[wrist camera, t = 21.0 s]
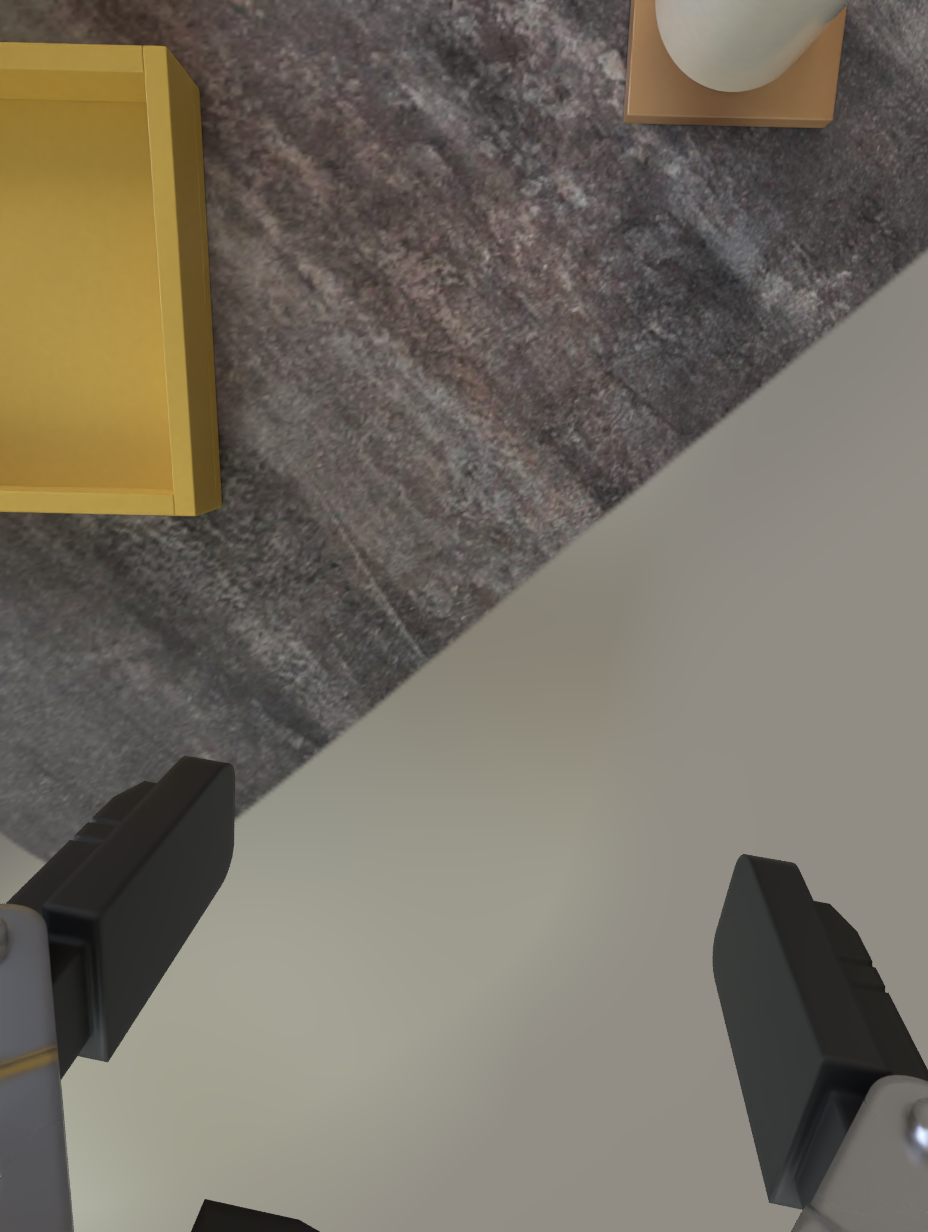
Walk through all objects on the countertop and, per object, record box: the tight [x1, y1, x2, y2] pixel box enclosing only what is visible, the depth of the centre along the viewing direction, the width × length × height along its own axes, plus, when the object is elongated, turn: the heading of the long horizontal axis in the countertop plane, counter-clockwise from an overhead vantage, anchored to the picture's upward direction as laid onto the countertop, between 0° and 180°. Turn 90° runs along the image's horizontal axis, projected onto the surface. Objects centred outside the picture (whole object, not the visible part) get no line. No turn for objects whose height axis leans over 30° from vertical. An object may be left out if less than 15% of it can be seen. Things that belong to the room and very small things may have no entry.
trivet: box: [623, 0, 847, 128], centre depth 27 cm, size 8×8×1 cm
